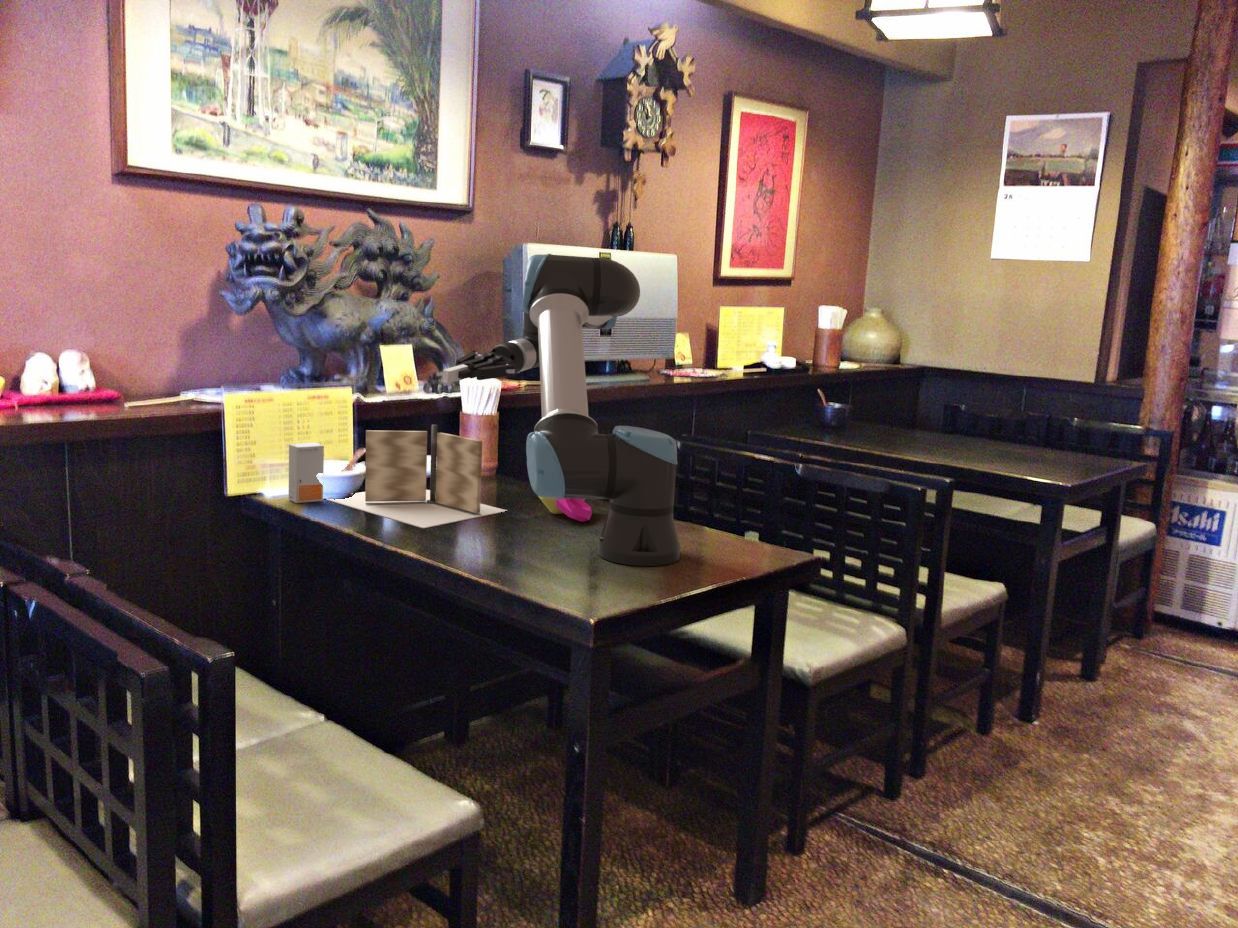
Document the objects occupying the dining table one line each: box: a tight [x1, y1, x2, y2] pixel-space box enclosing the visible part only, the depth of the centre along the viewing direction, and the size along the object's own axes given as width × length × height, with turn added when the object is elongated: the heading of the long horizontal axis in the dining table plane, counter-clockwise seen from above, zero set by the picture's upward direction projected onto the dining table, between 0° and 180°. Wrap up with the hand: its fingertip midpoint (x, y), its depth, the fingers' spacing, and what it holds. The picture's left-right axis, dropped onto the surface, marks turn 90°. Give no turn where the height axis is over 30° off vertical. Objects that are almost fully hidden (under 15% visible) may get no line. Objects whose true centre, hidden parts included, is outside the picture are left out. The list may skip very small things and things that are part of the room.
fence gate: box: [364, 429, 428, 502], centre depth 211 cm, size 12×1×15 cm, turn 106°
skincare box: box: [288, 442, 325, 504], centre depth 210 cm, size 6×4×12 cm
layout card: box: [325, 488, 508, 529], centre depth 212 cm, size 32×23×1 cm
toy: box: [537, 495, 592, 523], centre depth 211 cm, size 10×18×10 cm, turn 25°
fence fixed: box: [427, 424, 483, 513], centre depth 209 cm, size 15×3×17 cm, turn 52°
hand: (445, 376), depth 216 cm, fingers closed
